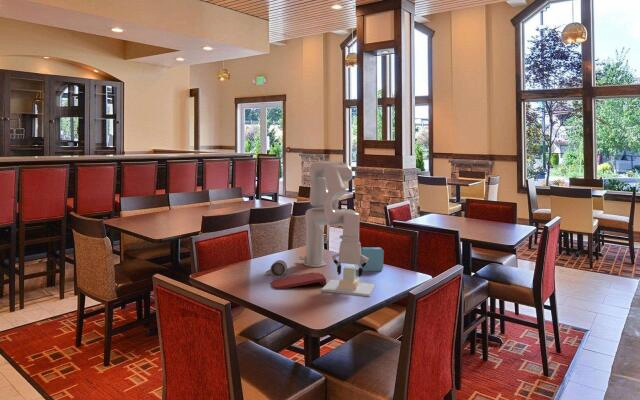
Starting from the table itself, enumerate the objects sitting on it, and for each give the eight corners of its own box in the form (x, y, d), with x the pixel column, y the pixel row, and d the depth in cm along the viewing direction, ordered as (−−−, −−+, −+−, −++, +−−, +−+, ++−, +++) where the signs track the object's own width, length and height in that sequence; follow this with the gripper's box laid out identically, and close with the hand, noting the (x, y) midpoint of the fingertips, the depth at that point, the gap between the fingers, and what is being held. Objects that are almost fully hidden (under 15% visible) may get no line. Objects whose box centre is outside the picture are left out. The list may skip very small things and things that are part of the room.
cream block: (342, 281, 213) (343, 268, 212) (345, 278, 217) (345, 265, 217) (353, 282, 211) (354, 269, 211) (355, 279, 216) (356, 266, 215)
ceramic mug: (287, 273, 239) (287, 258, 238) (285, 277, 231) (285, 262, 230) (267, 272, 239) (267, 258, 239) (264, 277, 231) (264, 262, 230)
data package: (381, 268, 252) (382, 247, 251) (383, 271, 248) (384, 249, 246) (359, 268, 251) (360, 247, 249) (361, 271, 246) (361, 249, 245)
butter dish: (321, 291, 210) (322, 282, 210) (330, 281, 225) (330, 273, 225) (369, 296, 204) (369, 287, 204) (375, 286, 219) (375, 278, 219)
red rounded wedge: (275, 297, 212) (327, 287, 216) (273, 287, 211) (326, 277, 216) (272, 289, 223) (322, 280, 228) (270, 279, 223) (321, 270, 227)
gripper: (330, 238, 211) (329, 275, 213) (367, 241, 206) (366, 279, 208) (334, 235, 218) (333, 271, 220) (370, 238, 213) (369, 274, 215)
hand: (349, 275), depth 214 cm, fingers open, 9 cm apart
